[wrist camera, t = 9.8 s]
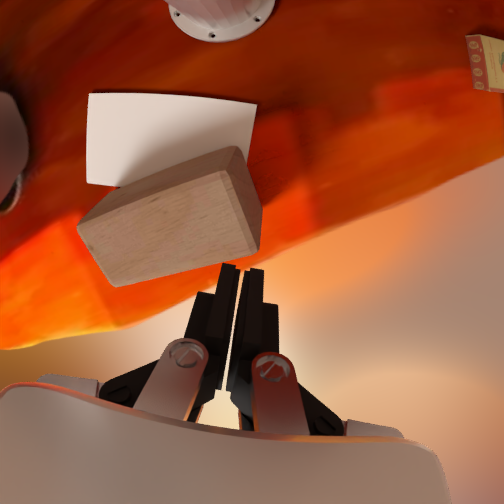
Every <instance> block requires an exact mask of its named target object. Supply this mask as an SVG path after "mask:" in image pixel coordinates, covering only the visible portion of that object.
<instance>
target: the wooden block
mask: <svg viewBox="0 0 504 504" xmlns="http://www.w3.org/2000/svg"><path fill="white" fill-rule="evenodd" d="M262 211H263V209H262V206H261V203H260V200H259V198H258V195H257V192H256V189H255V186H254V184H253V181H252V178H251V175H250V173H249V170H248V167H247V164H246V162H245V159H244V156H243V153H242V151H241V150H240V149H239V147H238V146H228V147H225V148H222V149H219V150H216V151H213V152H210V153H207V154H204V155H201V156H199V157H196V158H193V159H190V160H188V161H185V162H182V163H180V164H177V165H174V166H172V167H169V168H166V169H164V170H161V171H159V172H156V173H154V174H151V175H149V176H147V177H144V178H142V179H139V180H137V181H135V182H132V183H130V184H128V185H125V186H123V187H121V188H119V189H116V190H114V191H112V192H110V193H109V194H107V195H106V196H105V197H104V198H103V199H102V200H101V201H100V202H99V203H98V204H97V205H96V206H95V207H93V208H92V209H91V210H90V211H89V212H88V213H87V214H86V215H85V216H84V217H83V218H82V219H81V220H80V221H79V223H78V225H77V231H78V233H79V235H80V237H81V238H82V240H83V242H84V243H85V245H86V247H87V248H88V250H89V251H90V253H91V255H92V256H93V258H94V259H95V261H96V263H97V264H98V266H99V267H100V269H101V270H102V272H103V273H104V275H105V276H106V278H107V279H108V281H109V282H110V284H111V285H113V286H114V287H120V286H125V285H129V284H133V283H137V282H141V281H145V280H150V279H154V278H158V277H162V276H166V275H170V274H175V273H179V272H183V271H187V270H191V269H195V268H200V267H204V266H208V265H212V264H216V263H220V262H224V261H229V260H233V259H237V258H241V257H245V256H249V255H253V254H254V253H256V252H258V250H259V247H260V236H261V224H262Z"/></svg>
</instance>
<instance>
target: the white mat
mask: <svg viewBox="0 0 504 504" xmlns="http://www.w3.org/2000/svg"><path fill="white" fill-rule="evenodd" d="M256 108H257V105H256V104H250V103H243V102H237V101H229V100H222V99H213V98H204V97H194V96H182V95H168V94H148V93H90V94H89V102H88V118H87V152H86V162H87V183H92V184H101V185H109V186H118V187H123V186H125V185H128V184H130V183H132V182H135V181H137V180H139V179H142V178H144V177H147V176H149V175H151V174H154V173H156V172H159V171H161V170H164V169H166V168H169V167H172V166H174V165H177V164H180V163H182V162H185V161H188V160H190V159H193V158H196V157H199V156H201V155H204V154H207V153H210V152H213V151H216V150H219V149H222V148H225V147H228V146H238V147H239V149H240V150H241V151H242V153H243V156H244V159H245V162H246V164H247V159H248V153H249V147H250V142H251V136H252V130H253V125H254V119H255V113H256Z"/></svg>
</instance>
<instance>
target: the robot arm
mask: <svg viewBox="0 0 504 504" xmlns="http://www.w3.org/2000/svg"><path fill="white" fill-rule="evenodd" d="M164 1H166V2H167V3H168V4H169V11H170V14H171V17H172V19H173V21H174V22H175V24H176V25H177V26H178V27H179V28H180V29H181V30H182V31H183V32H185V33H186V34H188V35H190V36H192V37H194V38H196V39H199V40H203V41H207V42H228V41H233V40H237V39H240V38H243V37H245V36H247V35H249V34H251V33H253V32H254V31H256V30H257V29H258V28H260V27H261V26H262V25H263V24H264V23H265V21H266V20H267V19H268V18H269V16H270V14H271V13H272V10H273V7H274V4H275V0H164ZM178 14H180V16H177V15H178ZM256 19H259V20H260V21H259V22H256V21H255V20H256ZM212 35H215V37H214V38H212ZM235 267H236V265H232V264H226V263H222V267H221V271H220V275H219V279H218V283H217V287H216V292H215V294H210V293H205V292H199V291H198V293H197V296H196V299H195V302H194V305H193V309H192V312H191V315H190V318H189V322H188V325H187V328H186V332H185V335H184V338H180V339H177V340H174V341H173V342H171V343H169V344H168V346H167V347H166V349H165V350H164V352H163V354H162V356H161V357H160V359H159V360H156V361H154V362H152V363H149V364H147V365H144V366H142V367H140V368H137V369H135V370H132V371H130V372H128V373H125V374H123V375H120V376H118V377H115V378H113V379H111V380H109V381H107V382H105V383H99V382H98V380H95V379H85V378H77V377H70V376H62V375H55V374H46V375H43V376H41V377H40V378H39V379H38V380H37V381H36V382H22V383H15V384H12V385H9V386H7V387H6V388H4V389H3V390H2V391H1V392H0V504H452V503H451V498H450V493H449V488H448V484H447V480H446V477H445V473H444V471H443V468H442V465H441V463H440V461H439V459H438V457H437V455H436V454H435V453H434V452H433V450H431V449H430V448H429V447H427V446H425V445H423V444H421V443H418V442H415V441H412V440H408V439H404V437H403V435H402V433H401V432H399V431H398V430H397V429H395V428H392V427H386V426H380V425H375V424H370V423H364V422H359V421H355V420H350V419H348V420H347V421H342V420H341V419H340V418H339V417H338V416H337V415H336V414H335V413H334V412H332V411H331V410H330V409H329V408H327V407H326V406H325V405H324V404H323V403H321V402H320V401H319V400H318V399H317V398H316V397H314V396H313V395H312V394H311V393H310V392H309V391H307V390H306V389H305V388H304V387H302V386H301V385H300V384H299V383H298V382H297V377H296V373H295V369H294V366H293V364H292V362H291V361H290V360H289V359H288V358H287V357H285V356H284V355H282V354H279V321H278V320H279V319H278V318H279V317H278V305H277V304H271V303H264V302H263V285H264V270H261V269H255V268H250V271H245V272H244V277H243V282H242V288H241V293H240V298H239V304H238V309H237V314H236V320H235V326H234V333H233V340H232V348H231V355H230V362H229V370H228V377H227V385H226V391H230V392H231V396H230V399H231V401H232V402H233V404H235V405H236V407H237V408H238V409H239V410H238V417H239V430H237V429H229V428H223V427H216V426H210V425H204V424H199V423H198V420H199V417H200V415H201V412H202V409H203V405H204V404H205V403H206V402H208V401H210V400H212V399H213V398H214V395H215V389H218V390H221V388H222V382H223V376H224V371H225V365H226V360H227V354H228V348H229V343H230V336H231V330H232V323H233V317H234V310H235V303H236V296H237V290H238V282H239V276H240V269H235Z"/></svg>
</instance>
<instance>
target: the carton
mask: <svg viewBox="0 0 504 504" xmlns="http://www.w3.org/2000/svg"><path fill="white" fill-rule="evenodd" d="M465 37H466V42H467V47H468V53H469V58H470V65H471V72H472V81H473V88H475V89H480V90H485V91H491V92H500V93H504V41H503V40H500V39H496V38H492V37H488V36H484V35H481V34H475V35H469V36H465Z"/></svg>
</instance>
